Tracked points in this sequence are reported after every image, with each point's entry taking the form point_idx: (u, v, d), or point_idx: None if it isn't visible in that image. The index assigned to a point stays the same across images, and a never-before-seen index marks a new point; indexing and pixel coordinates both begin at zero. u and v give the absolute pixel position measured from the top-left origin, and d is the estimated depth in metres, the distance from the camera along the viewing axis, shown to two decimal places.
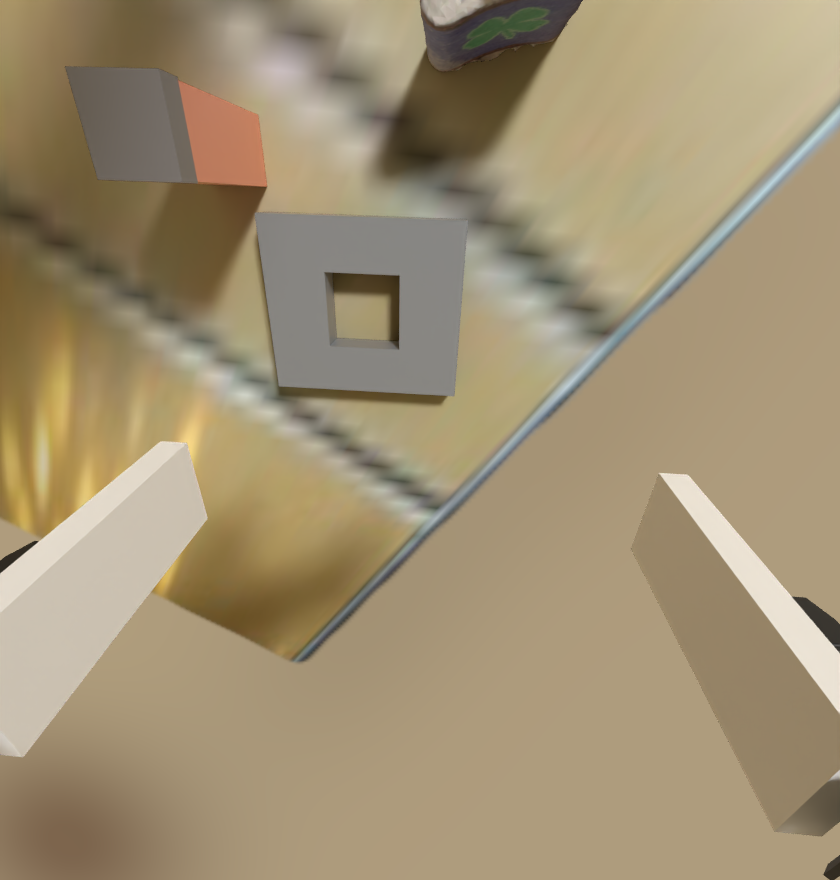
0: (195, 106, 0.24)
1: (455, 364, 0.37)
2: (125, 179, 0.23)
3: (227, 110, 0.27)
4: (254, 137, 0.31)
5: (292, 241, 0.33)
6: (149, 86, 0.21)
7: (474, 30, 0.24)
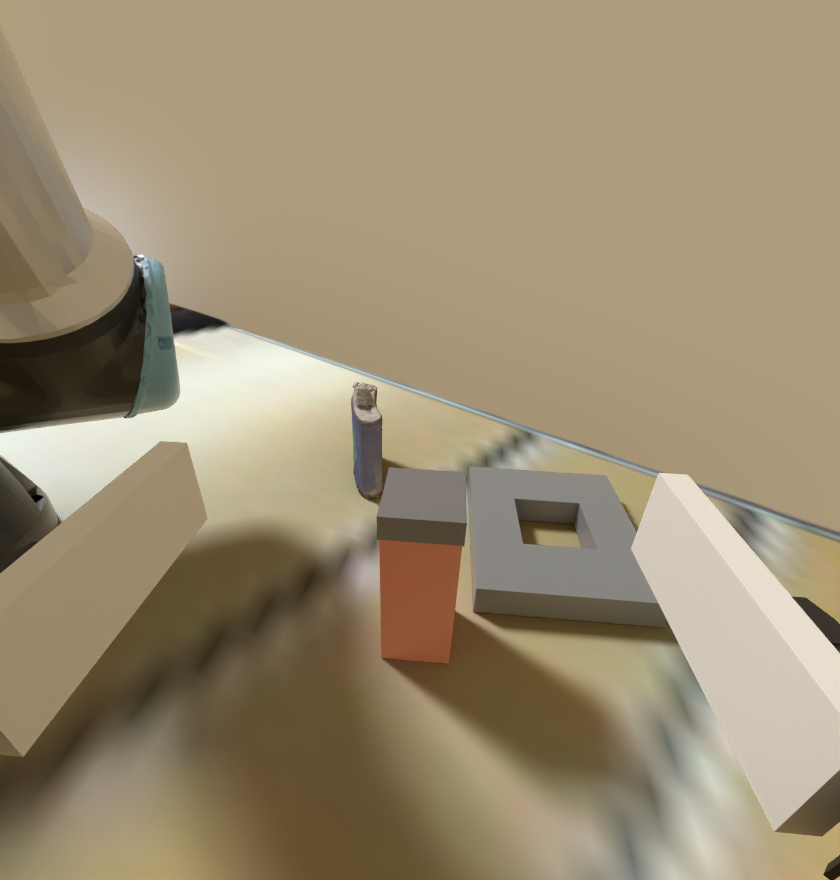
0: None
1: (577, 474, 0.44)
2: (465, 503, 0.23)
3: None
4: None
5: (499, 563, 0.33)
6: (398, 474, 0.26)
7: None
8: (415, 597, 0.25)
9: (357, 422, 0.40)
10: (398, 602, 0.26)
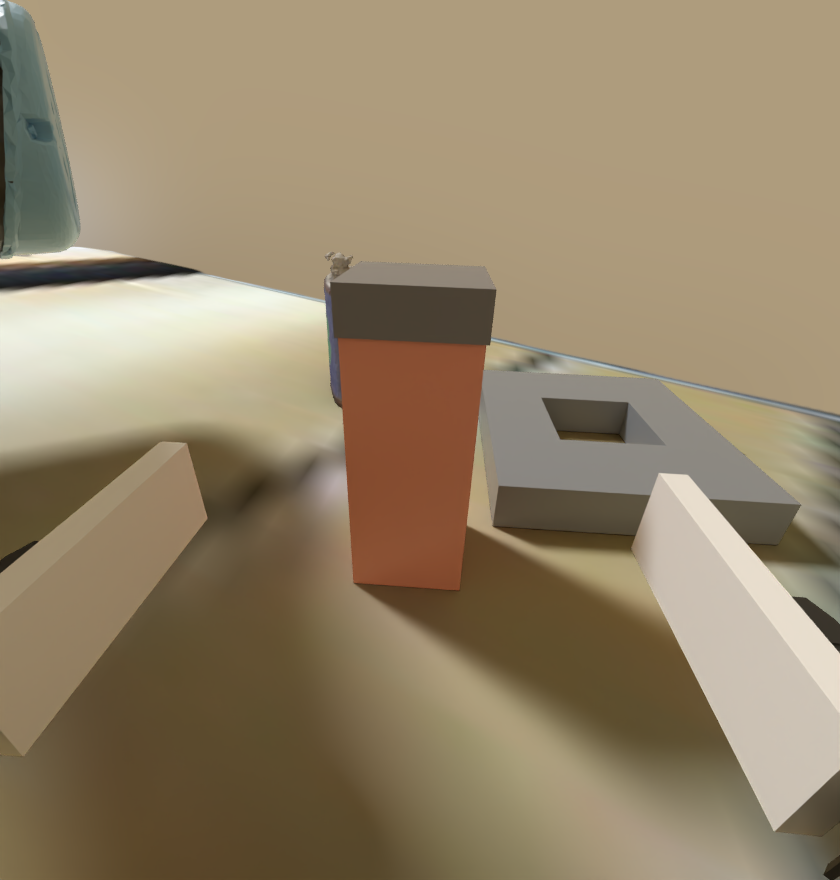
0: None
1: (619, 377, 0.34)
2: (490, 279, 0.13)
3: None
4: None
5: (528, 458, 0.23)
6: (375, 264, 0.16)
7: None
8: (404, 465, 0.15)
9: (329, 295, 0.30)
10: (375, 474, 0.15)
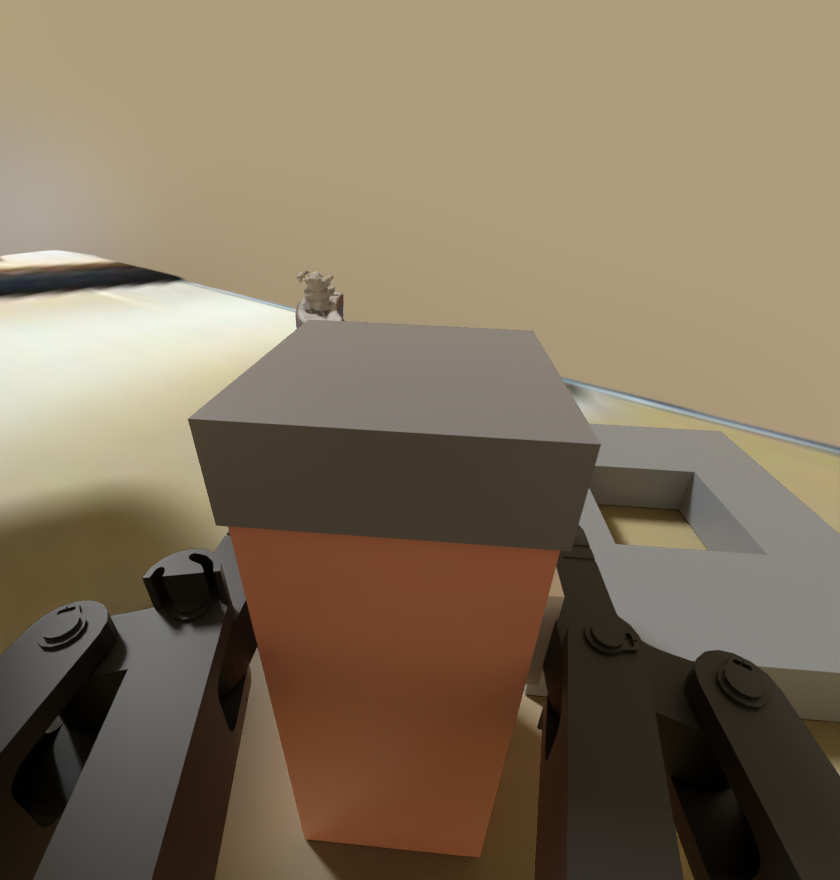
0: None
1: (673, 429, 0.27)
2: (564, 387, 0.06)
3: None
4: None
5: None
6: (332, 329, 0.08)
7: None
8: (382, 716, 0.08)
9: None
10: (329, 725, 0.08)
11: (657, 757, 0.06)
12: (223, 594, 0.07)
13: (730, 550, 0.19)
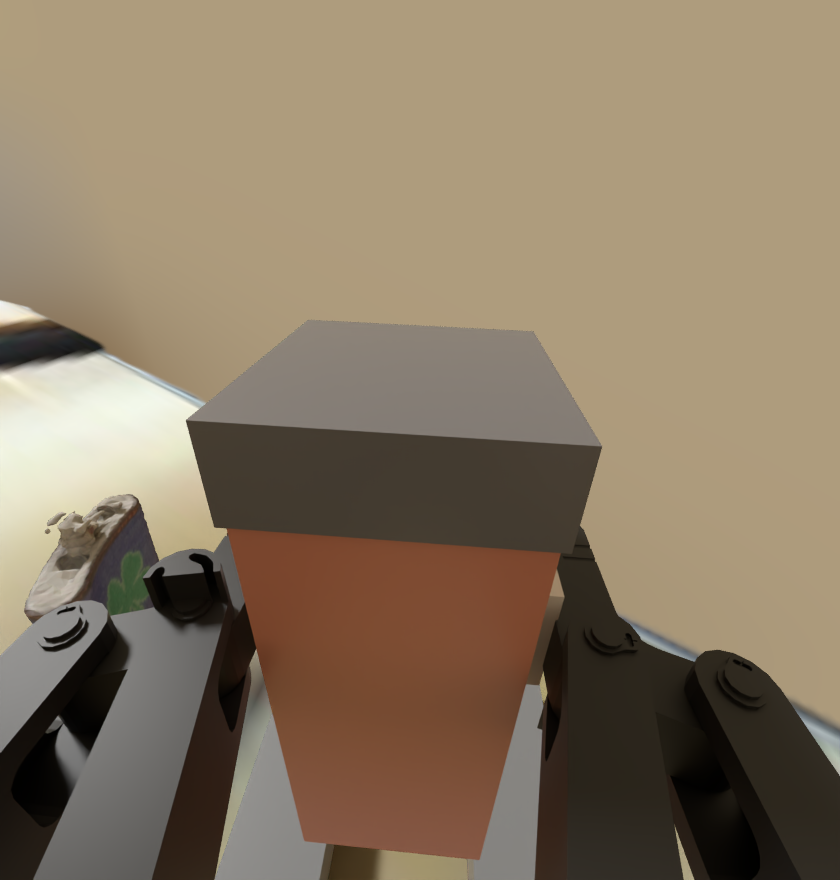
0: None
1: None
2: (565, 388, 0.06)
3: None
4: None
5: None
6: (332, 329, 0.08)
7: (108, 603, 0.23)
8: (382, 718, 0.08)
9: None
10: (329, 728, 0.08)
11: (657, 757, 0.06)
12: (223, 594, 0.07)
13: None
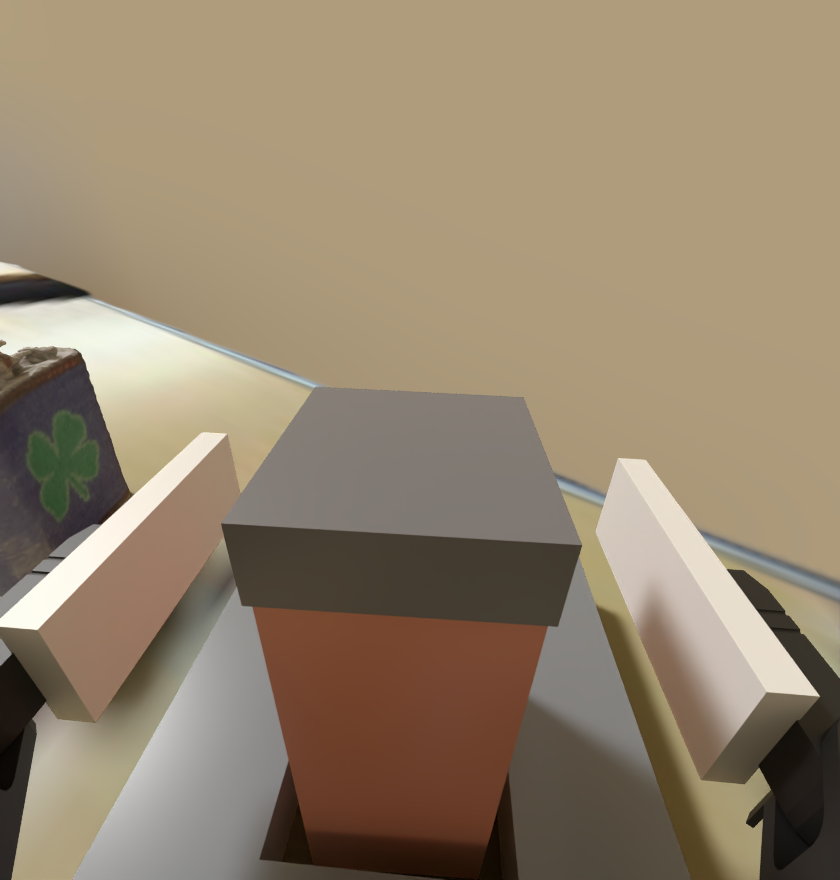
0: None
1: None
2: (551, 474, 0.07)
3: None
4: None
5: None
6: (338, 400, 0.09)
7: (29, 456, 0.18)
8: (388, 759, 0.09)
9: None
10: (339, 767, 0.09)
11: None
12: None
13: (503, 819, 0.12)
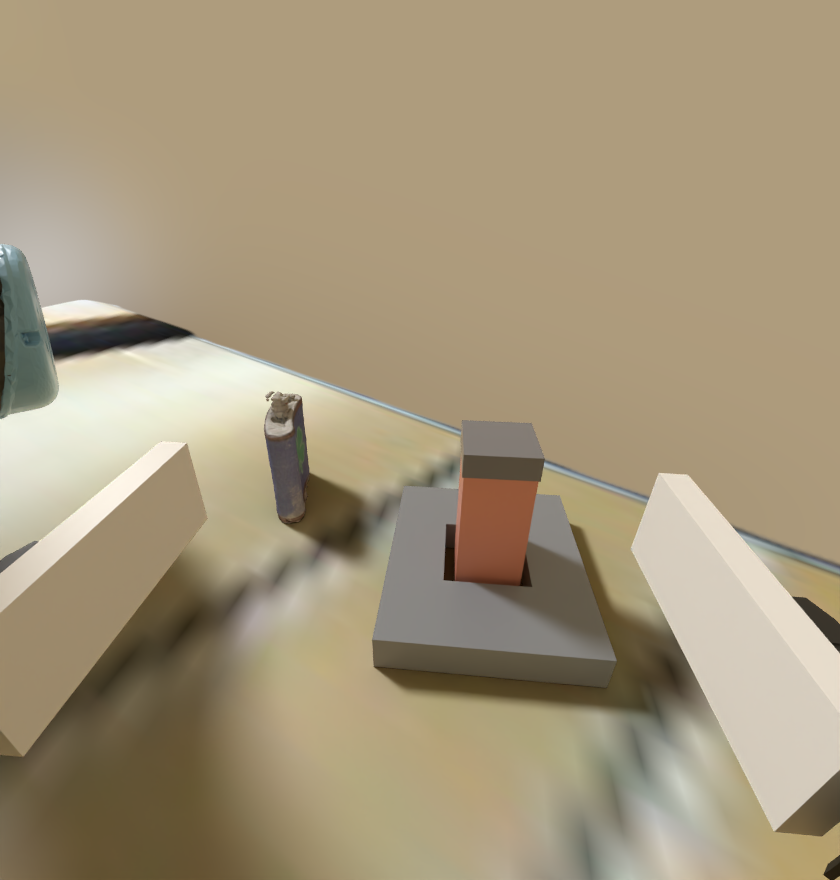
0: None
1: None
2: (539, 445, 0.26)
3: None
4: None
5: (408, 605, 0.27)
6: (472, 424, 0.29)
7: None
8: (491, 535, 0.28)
9: (265, 437, 0.35)
10: (474, 540, 0.28)
11: None
12: None
13: (526, 582, 0.31)
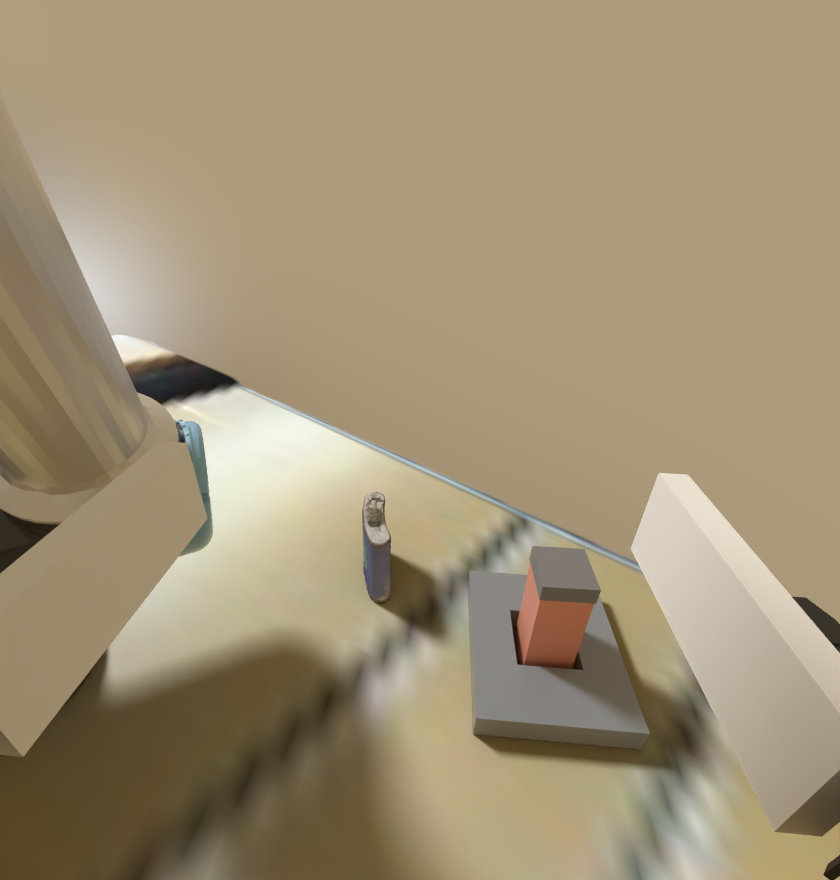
0: None
1: None
2: (594, 575, 0.36)
3: None
4: None
5: (495, 687, 0.37)
6: (541, 551, 0.38)
7: None
8: (555, 635, 0.38)
9: (368, 542, 0.44)
10: (542, 638, 0.38)
11: None
12: None
13: (575, 662, 0.41)
